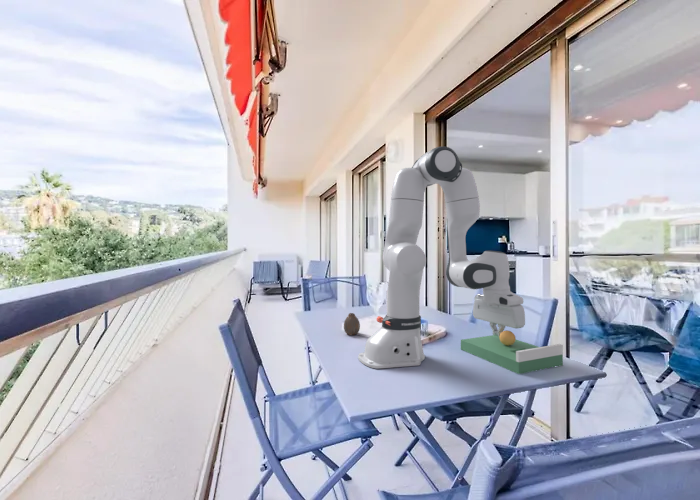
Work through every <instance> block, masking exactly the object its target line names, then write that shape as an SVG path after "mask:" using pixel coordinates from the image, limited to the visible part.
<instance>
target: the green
mask: <svg viewBox="0 0 700 500" xmlns="http://www.w3.org/2000/svg"><path fill="white" fill-rule="evenodd" d="M563 345H564V344H562V343H558V344H557V343H556V344H552V345H551V344H550V345H546V346H545V345H544V346H538V345H535V344H531V343H528V342H525V341H522V340H520V339H519V340H518V339H515V342H514V344H512V345H510V346H507V345H504V344H502V343H501V341H500V338H499V336H495V335H493V334H492V335H485V336H479V337H470V338H465V339H460V350H461V351H462V352H463V351H464V352H466V353H468V354H471V355H473V356H475V357H478V358H480V359H482V360H485V361H487V362H489V363H491V364H492V363H493V364H494V365H495V366H499V367H501V368H504V369H505V370H509V372H513V373H515V374H517V375H521V374H522V375H523V374H527V373H532V372H537V371H541V370H540V369H542V370H546V369H545V368H547V369H551V368H550V367H553V368H556V367H555V366H558V367H563V366H564V365H563V364H564V362H563V361H564V352H563V350H564V347H563ZM536 370H537V371H536Z"/></svg>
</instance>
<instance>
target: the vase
mask: <svg viewBox="0 0 700 500" xmlns="http://www.w3.org/2000/svg"><path fill="white" fill-rule="evenodd" d="M360 329H361V324H360V320H359V318H358V317H357V316H356V314H355V313H354V312H350V313H348V315H347V317H346V318H345V320H344V322H343V330H344V333H346V335H348V336H356V335H357V334H358V333H359V332H360ZM355 334H356V335H355Z"/></svg>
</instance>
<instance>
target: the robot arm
mask: <svg viewBox="0 0 700 500" xmlns="http://www.w3.org/2000/svg"><path fill="white" fill-rule="evenodd" d="M435 184H438V185H439V186H440V187H441V189H442V190H443V191H442V192H443V194H444V201H445V202H444V203H445V211H446V220H447V221H446V223H447V228H446V229H447V230H446V231H447V232H446V233H447V234H446V235H447V236H446V237H447V248H448V249H447V250H448V261H447V262H448V263H447V266H446V269H445V275H446V279H447V280H448V282H449V284H450V285H452V286H454V287H458V288H465V289H469V290H470V289H471V290H480V289H482V294H481V293H477V294H476V295H475V296H474V298H473V301H474V302H473V308H472V315H473V317H474V319H476V320H481V321H484V322H488V323H489V327H490V328H491V331H492V335H495V336H500V334H501V333H502V332H503V331H505V330H506V327H509V328H513V329H522V328H524V327H525V326H526V313H525V308H524V306H523V304H524V299H523V297H521V296H520V295H518V294H515V293H514V292H512V291H511V286H510V283H509V279H510V262H509V259H508V256H507V254H506V253H505V252H502V251H497V250H485V251H483V253H482V254H480V255H479V256H477V257H476V258H474V259H471V260H468V257H467V243H466V237H467V236H466V235H467V232H468V230H469V229H470V228H471V227H472V226H473V225H474V224H475V223H476V221H477V220H478V219H479V217H480V210H481V209H480V207H481V204H480V198H479V192H478V191H479V190H478V188H477V183H476V179H475V177H474V173H473V172H472V171H471V170H470V169H469V168H466V167H463V164H462V163H461V161H460V159H459V156H458V154H457V153H456V151H455V150H454V149H452V148H451V147H449V146H437V147H433V148H432V149H431V150H429V151H427V152H425V153H423V155H421V156H420V157H419V158H418V159H417V160H415V162H414V163H413V165H412V166H411V167H405V168H401V169H399V171H397V173H396V175H395V177H394V179H393V185H392V189H391V194H390V195H391V196H390V206H389V207H390V208H389V218H388V220H389V221H388V226H387V231H386V236H385V241H384V247H383V253H382V263H383V265H384V267H385V268H386V269H387V270H388V271H389V274H388V275H389V276H388V284H387V285H388V286H387V290H386V315H385V316H384V317H383V316H377V317H376V318H375V319H376V322H378V323H380V324H381V327H380V328H379V329H377V331H375V332H374V333H372V335H371V336H369V337H368V338H367V339H366V341H365V346H364V351H363V352H359V353H358V358H357V359H358V360H359V362H360V363H362V364H363V365H364V366H366V367H369V368H372V369H389V368H391V369H392V368H400V367H401V368H402V367H414V366H421V364H422V362H423V361H424V360H425V359H426V356H425V352H424V349H423V344H422V336H421V335H422V334H421V330H422V329H421V328H422V317H421V316H422V315H420V314H421V313H420V312H421V311H420V309H421V307H420V294H421V292H420V291H421V286H422V285H421V284H422V279H423V272H424V269H425V266H426V264H427V257H426V254H425V252H424V250H423V249H422V248H421V247H420V246H419V245H417V241H418V237H419V234H420V231H421V229H422V225H423V217H424V207H425V206H424V204H425V203H424V202H425V192H426V188H427V187H430V186H433V185H435Z"/></svg>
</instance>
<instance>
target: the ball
mask: <svg viewBox="0 0 700 500" xmlns="http://www.w3.org/2000/svg"><path fill="white" fill-rule="evenodd" d="M499 338H500V341H501V343H502V344H504V345H507V346H510V345H512V344H514V342H515V339H516V335H515V333H513V332H512V331H511V330H506V329H505V330H503V332H502V333H501V334H500V336H499ZM516 340H517V339H516Z"/></svg>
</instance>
